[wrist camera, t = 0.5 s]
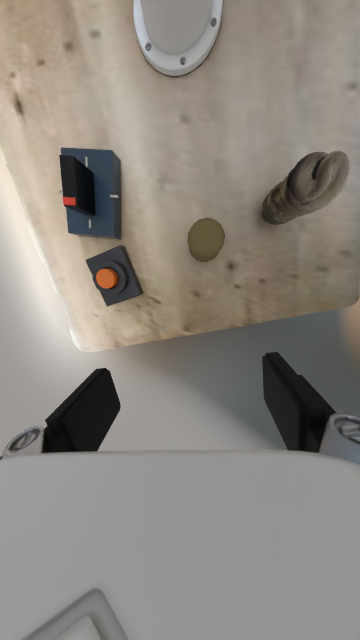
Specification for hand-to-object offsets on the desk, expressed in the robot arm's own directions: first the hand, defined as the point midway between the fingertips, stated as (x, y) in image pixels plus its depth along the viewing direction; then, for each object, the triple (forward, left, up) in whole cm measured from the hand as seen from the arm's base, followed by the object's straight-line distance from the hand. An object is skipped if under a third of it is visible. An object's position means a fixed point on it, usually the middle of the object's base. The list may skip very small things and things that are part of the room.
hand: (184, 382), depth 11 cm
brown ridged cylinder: (-13, +15, -28) cm, 35 cm away
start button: (-7, -16, -25) cm, 30 cm away
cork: (-10, +3, -28) cm, 30 cm away
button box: (-7, -16, -28) cm, 33 cm away
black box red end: (-21, -16, -25) cm, 37 cm away
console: (-21, -16, -28) cm, 39 cm away
